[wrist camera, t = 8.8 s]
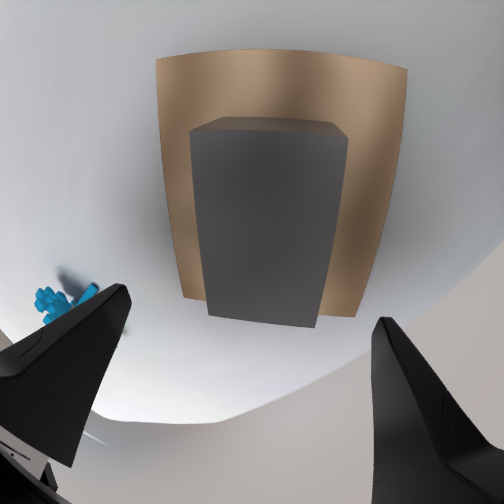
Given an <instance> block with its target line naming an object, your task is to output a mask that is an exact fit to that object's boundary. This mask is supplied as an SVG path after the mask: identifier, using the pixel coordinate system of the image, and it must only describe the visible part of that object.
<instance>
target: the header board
mask: <svg viewBox="0 0 504 504" xmlns="http://www.w3.org/2000/svg"><path fill="white" fill-rule="evenodd" d="M156 70H157V98H158V115H159V129H160V141H161V152H162V162H163V171H164V180H165V188H166V196H167V203H168V211H169V217H170V224H171V231H172V237H173V243H174V249H175V254H176V260H177V265H178V271H179V276H180V281H181V286H182V291H183V296H184V298H190V299H196V300H203V301H206V294H205V287H204V280H203V273H202V265H201V257H200V249H199V240H198V231H197V222H196V212H195V202H194V191H193V179H192V167H191V153H190V137H189V130H192V129H194V128H196V127H199V126H201V125H204V124H206V123H209V122H211V121H214V120H216V119H219V118H221V117H272V118H289V119H303V120H313V121H323V122H331V123H334V124H335V125H336V126H337V127H338V128H339V129H340V130H341V131H342V132H343V133H344V134H345V135H346V136H347V137H348V138H349V139H348V149H347V157H346V166H345V174H344V181H343V188H342V195H341V202H340V208H339V214H338V220H337V226H336V232H335V238H334V243H333V248H332V253H331V259H330V263H329V268H328V273H327V278H326V282H325V287H324V291H323V296H322V300H321V304H320V309H319V313H318V315H329V316H342V317H355V315H356V313H357V310H358V307H359V305H360V302H361V299H362V296H363V293H364V290H365V287H366V284H367V281H368V278H369V275H370V272H371V269H372V265H373V262H374V259H375V255H376V252H377V248H378V245H379V241H380V238H381V234H382V230H383V226H384V222H385V218H386V214H387V210H388V206H389V201H390V197H391V192H392V187H393V182H394V177H395V172H396V167H397V161H398V155H399V149H400V142H401V135H402V127H403V119H404V110H405V99H406V86H407V69H404V68H401V67H397V66H393V65H389V64H385V63H381V62H376V61H371V60H367V59H361V58H356V57H350V56H344V55H337V54H329V53H321V52H311V51H298V50H277V49H245V50H224V51H212V52H202V53H193V54H185V55H179V56H172V57H166V58H161V59H156Z"/></svg>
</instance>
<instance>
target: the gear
mask: <svg viewBox="0 0 504 504" xmlns="http://www.w3.org/2000/svg"><path fill="white" fill-rule="evenodd" d="M97 291H98V289H97V287H95V286H94V285H93V284H90V286H89V287H88V289H87V290H86V291H85V293H84V294H83V295H82V297H81V298H80V300H79V301H78V302H77V303H76V302H75V301H73V300H72V301H71V303H69V302H68V301H67V299H66V296H65V294H64V293H62V292H60V291H58V292H57V293H56V294H55V293H54V291H53V290H52V289H51V288H50V287H46V289H45V290H43V289H41V288H39V289H38V291H37V293H36V298H37V300H36V301H35V303H34V304H35V307H36V308H37V310H38V311H39V312H41V313H43V312H44V310H46V311H48V312H49V313H50V314H47V315H46V316H45V318H44V319H43V322H44V323H45V324H46V325H47V324H48V323H50V322H52V321H53V320H55V319H56V318H58V317H60V316H61V315H63V314H64V313H66V312H68V311H69V310H71V309H73V308H74V307H76V306H78V305H79V304H81V303H83V302H84V301H86V300H88V299H89V298H91V297H93V296H94V295H95V293H96V292H97ZM116 348H117V347H116Z"/></svg>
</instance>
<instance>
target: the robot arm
mask: <svg viewBox="0 0 504 504" xmlns="http://www.w3.org/2000/svg"><path fill="white" fill-rule="evenodd" d="M131 305H132V302H131V298H130V295H129V293H128V290H127V287H126V286H125V285H123V284H118V283H115V284H113V285H112V286H110V287H108V288H106V289H105V290H103V291H101V292H100V293H98V294H96V295H94V296H93V297H91V298H89V299H88V300H86V301H84V302H83V303H81V304H79V305H78V306H76V307H74V308H73V309H71V310H69V311H68V312H66V313H64V314H63V315H61V316H60V317H58V318H56V319H55V320H53V321H52V322H50V323H48V324H47V325H45V326H44V327H42V328H40V329H39V330H37V331H36V332H34V333H32V334H31V335H29V336H27V337H26V338H24V339H22V340H20V341H18V342H17V343H15V344H13V345H11V346H9V347H7V348H6V349H4V350H2V351H0V504H71V503H70V502H68V501H67V500H65V499H64V498H62V497H61V496H60V495H58V494H57V493H56V491H57V488H58V486H57V483H56V481H55V478H54V475H53V472H52V469H51V465H50V463H49V462H47V461H48V459H49V457H50V458H52V459H54V460H56V461H57V462H60V463H61V464H63V465H65V466H67V467H69V468H71V467H72V464H73V461H74V458H75V454H76V451H77V448H78V445H79V442H80V439H81V436H82V433H83V430H84V426H85V423H86V421H87V418H88V416H89V413H90V410H91V407H92V405H93V402H94V400H95V397H96V394H97V392H98V389H99V387H100V384H101V382H102V379H103V377H104V375H105V372H106V370H107V367H108V365H109V363H110V360H111V358H112V356H113V353H114V351H115V349H116V347H117V345H118V342H119V340H120V337H121V334H122V331H123V328H124V325H125V323H126V320H127V317H128V314H129V311H130V309H131ZM371 352H372V353H371V385H372V401H373V422H374V471H373V489H372V503H371V504H504V450H501V449H498V448H496V447H494V446H493V445H491V444H490V443H489V442H488V441H487V440H486V438H485V437H484V436H483V435H482V434H481V432H480V431H479V430H478V429H477V427H476V426H475V425H474V424H473V423H472V421H471V420H470V419H469V418H468V416H467V415H466V414H465V413H464V411H463V410H462V409H461V408H460V406H459V405H458V404H457V402H456V401H455V399H454V398H453V397H452V395H451V394H450V392H449V391H448V390H447V388H446V387H445V385H444V384H443V383H442V381H441V380H440V378H439V377H438V376H437V374H436V373H435V372H434V370H433V369H432V368H431V366H430V365H429V364H428V362H427V361H426V360H425V358H424V357H423V356H422V354H421V353H420V352H419V351H418V349H417V348H416V347H415V345H414V344H413V343H412V342H411V340H410V339H409V338H408V337H407V335H406V334H405V333H404V332H403V330H402V329H401V328H400V327H399V325H398V324H397V323H396V322H395V321H394V319H393V318H391V317H380V318H379V320H378V322H377V324H376V326H375V328H374V330H373V333H372V338H371Z"/></svg>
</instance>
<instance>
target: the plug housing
mask: <svg viewBox="0 0 504 504" xmlns="http://www.w3.org/2000/svg"><path fill="white" fill-rule="evenodd" d="M189 137H190V153H191V167H192V179H193V191H194V202H195V212H196V222H197V231H198V240H199V249H200V257H201V265H202V273H203V280H204V287H205V294H206V301H207V308H208V315H211V316H217V317H224V318H231V319H238V320H245V321H253V322H261V323H269V324H278V325H287V326H297V327H307V328H315V325H316V321H317V317H318V313H319V309H320V304H321V300H322V296H323V291H324V287H325V282H326V278H327V273H328V268H329V263H330V259H331V253H332V248H333V243H334V238H335V232H336V226H337V220H338V214H339V208H340V202H341V195H342V188H343V181H344V174H345V166H346V157H347V149H348V139H349V138H348V137H347V136H346V135H345V134H344V133H343V132H342V131H341V130H340V129H339V128H338V127H337V126H336V125H335V124H334V123H331V122H323V121H313V120H303V119H289V118H272V117H221V118H219V119H216V120H214V121H211V122H209V123H206V124H204V125H201V126H199V127H196V128H194V129H192V130H189Z"/></svg>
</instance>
